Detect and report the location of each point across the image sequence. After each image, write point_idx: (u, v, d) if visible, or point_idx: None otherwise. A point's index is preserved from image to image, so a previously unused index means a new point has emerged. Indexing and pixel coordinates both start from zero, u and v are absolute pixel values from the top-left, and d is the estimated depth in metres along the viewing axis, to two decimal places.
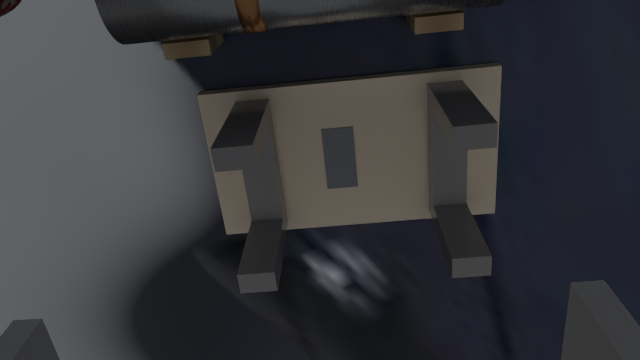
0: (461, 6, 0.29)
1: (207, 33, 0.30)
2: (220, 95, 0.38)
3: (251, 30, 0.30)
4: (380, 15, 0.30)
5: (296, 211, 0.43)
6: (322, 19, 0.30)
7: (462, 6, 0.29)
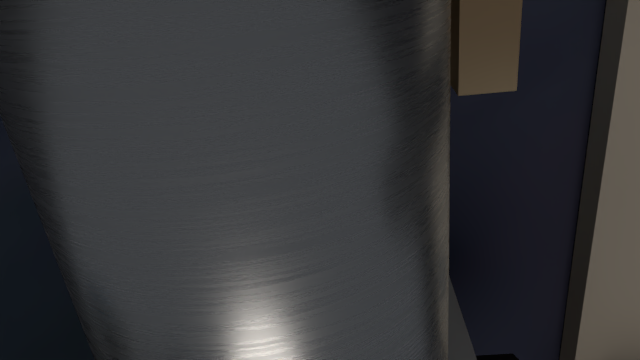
0: None
1: None
2: None
3: None
4: (441, 308, 0.08)
5: None
6: None
7: None
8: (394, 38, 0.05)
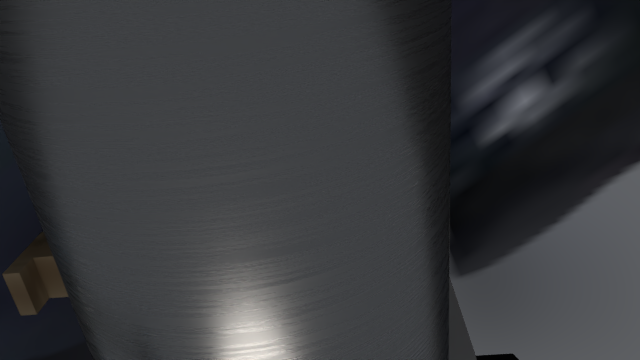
0: None
1: None
2: None
3: None
4: (442, 310, 0.08)
5: None
6: None
7: None
8: (393, 39, 0.05)
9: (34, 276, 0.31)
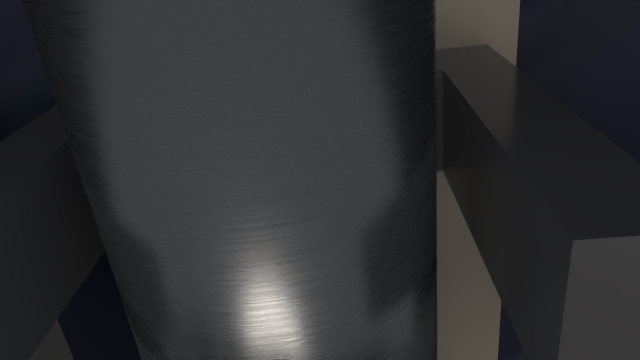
0: None
1: None
2: None
3: None
4: (430, 259, 0.09)
5: None
6: None
7: None
8: (389, 17, 0.06)
9: None
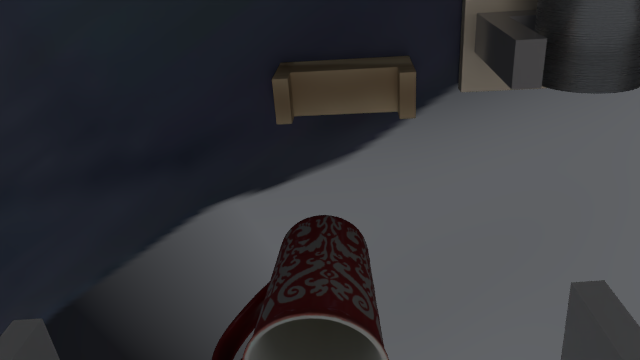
0: None
1: None
2: (464, 66, 0.36)
3: None
4: None
5: None
6: None
7: None
8: None
9: (290, 89, 0.34)
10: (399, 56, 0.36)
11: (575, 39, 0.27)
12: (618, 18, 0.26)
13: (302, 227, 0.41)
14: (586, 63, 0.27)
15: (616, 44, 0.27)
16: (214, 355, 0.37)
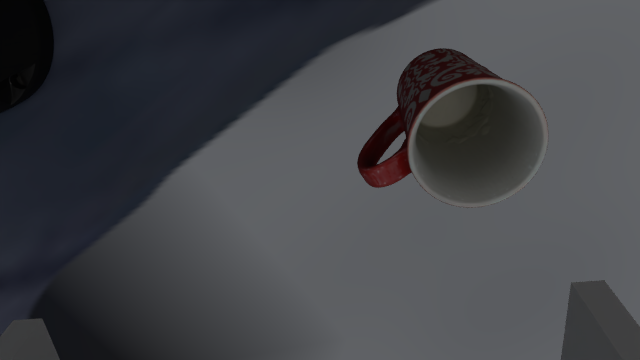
0: None
1: None
2: None
3: None
4: None
5: None
6: None
7: None
8: None
9: None
10: None
11: None
12: None
13: (423, 56, 0.43)
14: None
15: None
16: (360, 162, 0.39)
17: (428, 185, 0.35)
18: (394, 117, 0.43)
